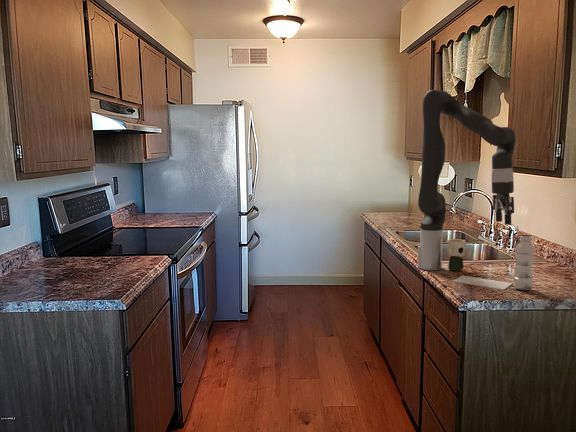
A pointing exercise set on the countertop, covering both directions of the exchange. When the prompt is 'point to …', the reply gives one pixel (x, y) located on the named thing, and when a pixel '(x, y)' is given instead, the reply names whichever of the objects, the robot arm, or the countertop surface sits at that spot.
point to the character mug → (456, 254)
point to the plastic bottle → (524, 263)
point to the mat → (483, 282)
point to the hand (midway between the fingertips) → (503, 223)
